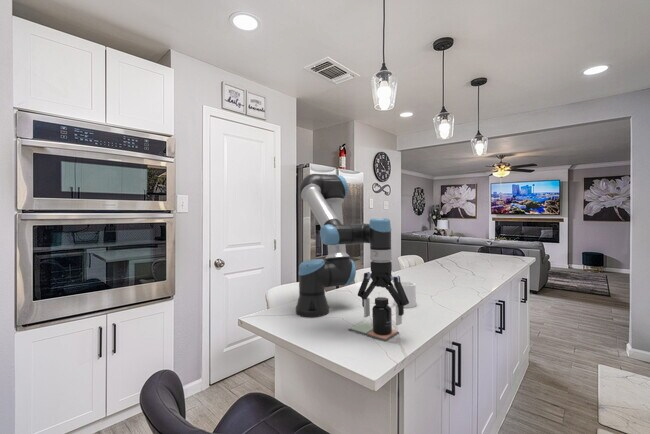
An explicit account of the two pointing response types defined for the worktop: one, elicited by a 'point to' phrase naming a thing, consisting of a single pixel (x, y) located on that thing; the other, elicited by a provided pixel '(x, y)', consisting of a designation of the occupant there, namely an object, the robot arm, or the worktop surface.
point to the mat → (371, 331)
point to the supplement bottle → (382, 316)
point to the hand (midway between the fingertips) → (382, 320)
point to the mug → (408, 294)
